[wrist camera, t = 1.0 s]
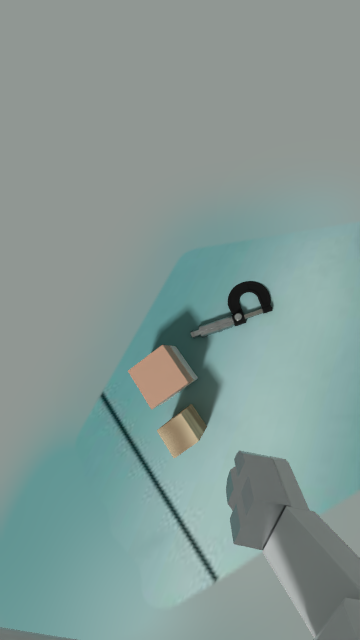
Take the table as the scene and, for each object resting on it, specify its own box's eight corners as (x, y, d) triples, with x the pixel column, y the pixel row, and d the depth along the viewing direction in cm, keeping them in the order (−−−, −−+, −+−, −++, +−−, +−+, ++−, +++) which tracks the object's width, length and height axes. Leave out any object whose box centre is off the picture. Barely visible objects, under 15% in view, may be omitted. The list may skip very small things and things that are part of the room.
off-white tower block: (175, 346, 48) (169, 345, 44) (198, 378, 46) (194, 379, 42) (146, 368, 49) (138, 369, 45) (167, 400, 47) (160, 404, 43)
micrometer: (261, 276, 46) (262, 271, 44) (275, 313, 45) (277, 310, 42) (183, 305, 49) (179, 302, 47) (194, 340, 48) (191, 340, 45)
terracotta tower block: (169, 345, 44) (162, 344, 40) (193, 380, 42) (188, 382, 39) (138, 369, 45) (127, 370, 41) (159, 404, 43) (151, 409, 39)
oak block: (191, 403, 46) (180, 413, 38) (207, 426, 45) (198, 440, 37) (171, 418, 46) (156, 430, 38) (186, 441, 45) (174, 458, 37)
